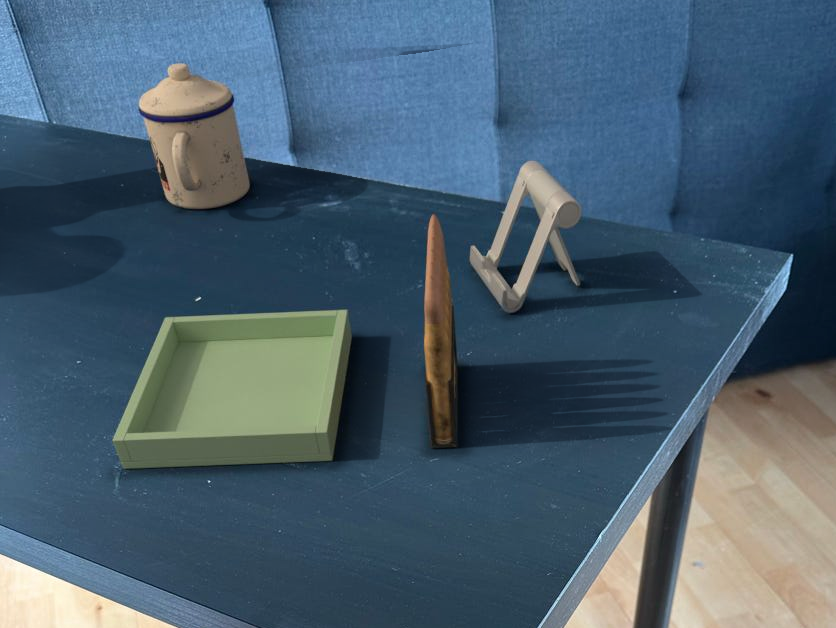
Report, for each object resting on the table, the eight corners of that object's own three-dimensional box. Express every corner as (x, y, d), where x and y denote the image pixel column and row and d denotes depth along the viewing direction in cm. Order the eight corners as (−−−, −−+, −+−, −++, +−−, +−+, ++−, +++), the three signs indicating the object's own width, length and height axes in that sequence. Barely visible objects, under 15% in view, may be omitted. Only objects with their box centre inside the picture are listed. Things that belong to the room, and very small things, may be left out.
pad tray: (123, 469, 65) (111, 440, 63) (173, 344, 76) (165, 316, 74) (332, 461, 64) (327, 431, 63) (352, 337, 76) (347, 309, 74)
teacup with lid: (173, 177, 100) (140, 53, 91) (258, 173, 99) (233, 48, 91) (149, 226, 91) (109, 95, 83) (241, 222, 91) (211, 90, 83)
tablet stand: (470, 270, 83) (465, 171, 77) (553, 254, 84) (555, 156, 78) (502, 315, 77) (499, 213, 71) (590, 297, 79) (595, 196, 72)
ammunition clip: (433, 366, 72) (420, 209, 63) (457, 365, 72) (447, 207, 63) (430, 449, 65) (415, 284, 56) (457, 448, 65) (446, 282, 56)
